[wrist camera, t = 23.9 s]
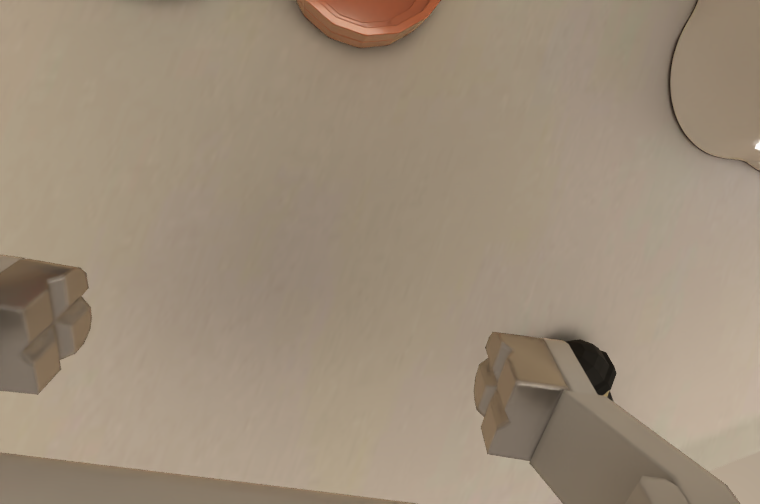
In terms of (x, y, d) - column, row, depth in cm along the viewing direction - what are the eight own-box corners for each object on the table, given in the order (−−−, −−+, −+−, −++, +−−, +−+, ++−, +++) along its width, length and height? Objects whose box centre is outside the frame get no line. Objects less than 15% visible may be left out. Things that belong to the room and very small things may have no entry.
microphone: (623, 454, 51) (560, 319, 43) (678, 485, 46) (618, 338, 38) (592, 493, 49) (522, 360, 41) (646, 529, 44) (577, 385, 36)
